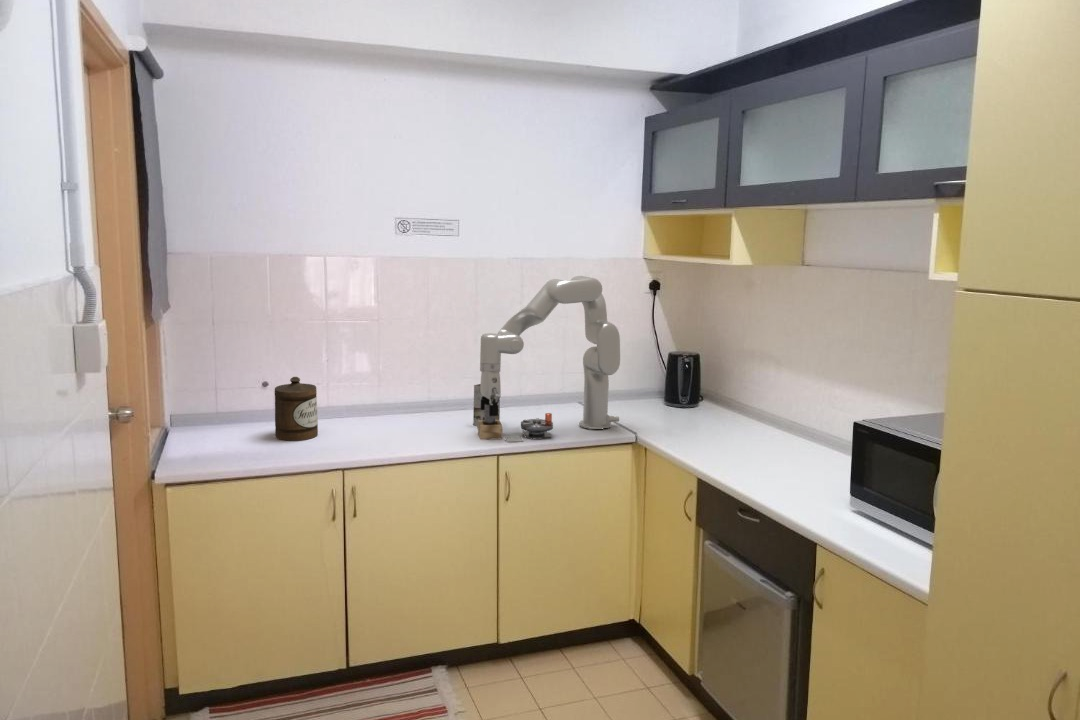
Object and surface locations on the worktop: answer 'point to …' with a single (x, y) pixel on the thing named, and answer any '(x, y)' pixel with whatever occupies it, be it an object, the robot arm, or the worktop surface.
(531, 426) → the handwheel
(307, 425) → the wooden container
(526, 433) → the wheel pedestal
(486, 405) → the dark grey rounded cylinder
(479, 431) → the eye block
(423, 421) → the worktop surface
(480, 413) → the coffee box
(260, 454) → the worktop surface
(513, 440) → the mat
